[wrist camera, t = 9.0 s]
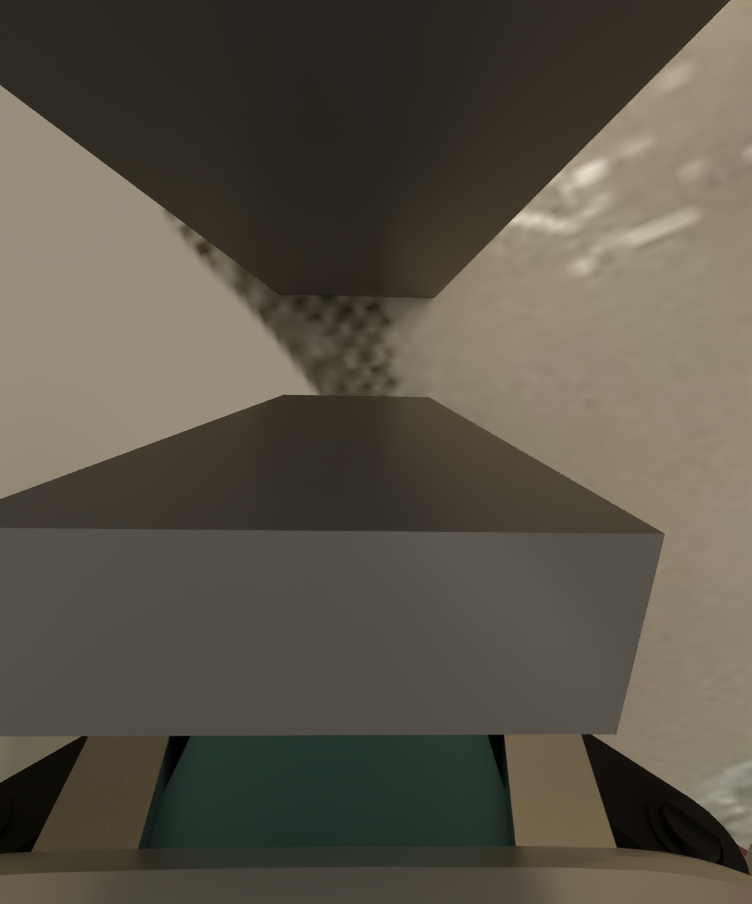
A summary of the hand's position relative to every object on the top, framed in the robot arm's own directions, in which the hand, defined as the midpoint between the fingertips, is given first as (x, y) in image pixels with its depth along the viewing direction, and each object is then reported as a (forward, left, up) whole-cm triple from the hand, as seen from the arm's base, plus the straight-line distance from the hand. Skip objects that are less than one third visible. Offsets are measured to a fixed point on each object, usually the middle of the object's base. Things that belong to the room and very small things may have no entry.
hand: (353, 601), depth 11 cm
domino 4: (+5, 0, -3) cm, 6 cm away
